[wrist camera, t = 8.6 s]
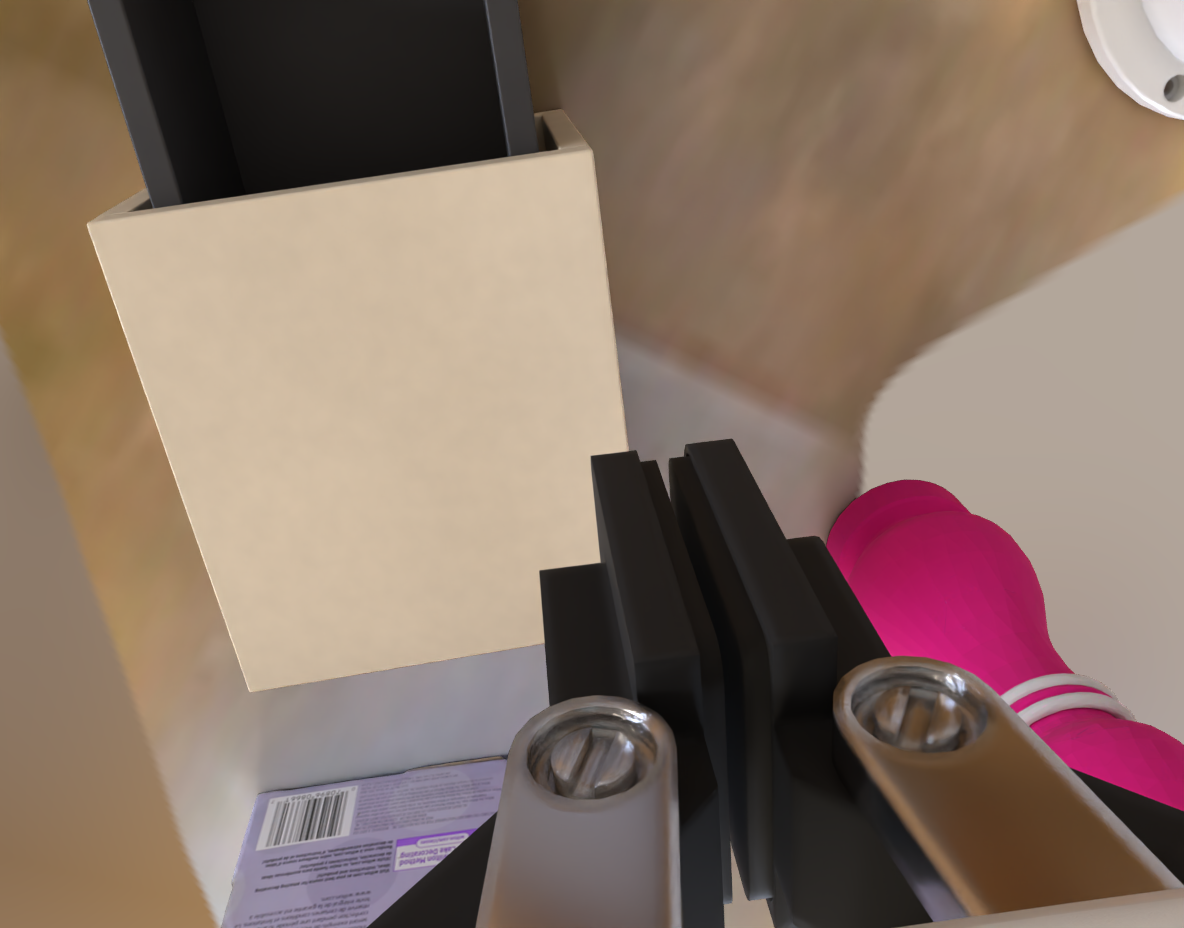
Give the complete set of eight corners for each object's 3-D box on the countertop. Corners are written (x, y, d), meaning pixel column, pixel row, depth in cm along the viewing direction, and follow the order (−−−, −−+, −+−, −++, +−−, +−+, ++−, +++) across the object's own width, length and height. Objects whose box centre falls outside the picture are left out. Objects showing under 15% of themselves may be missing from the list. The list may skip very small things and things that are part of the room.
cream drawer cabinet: (187, 162, 33) (84, 223, 24) (562, 108, 33) (593, 149, 25) (298, 539, 39) (249, 693, 31) (612, 489, 40) (650, 627, 31)
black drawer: (60, -312, 27) (-89, -421, 20) (481, -364, 27) (483, -490, 20) (246, 328, 35) (188, 414, 28) (569, 279, 35) (593, 352, 28)
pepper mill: (952, 438, 40) (1334, 795, 22) (995, 571, 43) (1362, 979, 26) (789, 512, 41) (1033, 917, 23) (843, 639, 44) (1096, 1081, 26)
